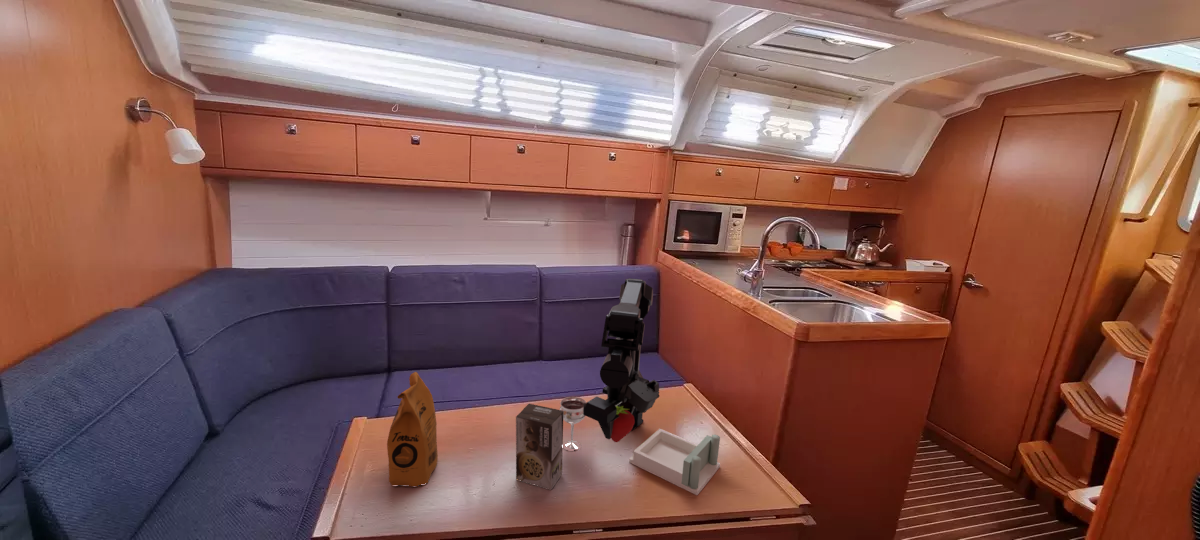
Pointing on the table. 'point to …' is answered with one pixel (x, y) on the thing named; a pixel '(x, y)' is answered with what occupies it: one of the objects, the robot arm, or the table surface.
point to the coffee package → (413, 436)
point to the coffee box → (539, 445)
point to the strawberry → (622, 424)
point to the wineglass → (572, 416)
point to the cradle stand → (679, 459)
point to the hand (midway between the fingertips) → (616, 432)
